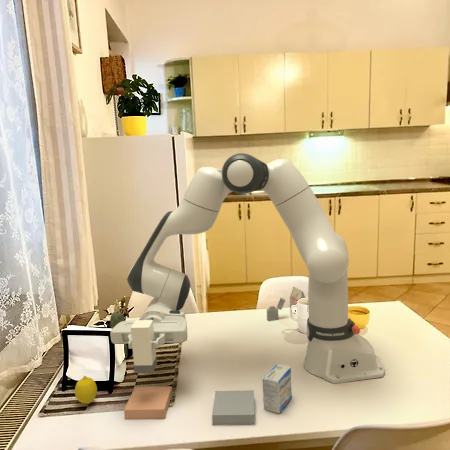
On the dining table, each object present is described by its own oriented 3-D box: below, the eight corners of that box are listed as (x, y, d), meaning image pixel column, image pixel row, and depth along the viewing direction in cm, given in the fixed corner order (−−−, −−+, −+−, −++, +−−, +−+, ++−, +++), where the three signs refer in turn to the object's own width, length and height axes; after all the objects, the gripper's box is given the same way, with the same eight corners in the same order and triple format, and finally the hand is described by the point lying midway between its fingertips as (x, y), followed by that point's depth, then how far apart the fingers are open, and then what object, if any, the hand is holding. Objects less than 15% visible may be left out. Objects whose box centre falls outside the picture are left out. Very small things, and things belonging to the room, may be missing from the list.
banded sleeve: (157, 363, 108) (153, 319, 105) (153, 372, 103) (149, 327, 101) (139, 363, 108) (135, 320, 106) (134, 373, 103) (130, 328, 101)
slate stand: (254, 399, 108) (253, 390, 107) (254, 424, 98) (254, 414, 98) (215, 399, 108) (215, 390, 108) (212, 424, 99) (212, 415, 98)
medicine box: (279, 414, 101) (278, 382, 99) (263, 409, 103) (261, 377, 102) (292, 397, 108) (291, 367, 106) (276, 393, 110) (275, 363, 108)
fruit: (74, 402, 111) (71, 374, 109) (96, 395, 113) (92, 368, 112) (78, 412, 106) (75, 384, 105) (100, 405, 109) (97, 377, 107)
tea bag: (298, 309, 165) (297, 285, 164) (307, 315, 159) (307, 290, 157) (290, 311, 164) (289, 287, 162) (299, 317, 158) (298, 292, 156)
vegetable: (124, 363, 130) (118, 303, 126) (111, 363, 130) (105, 302, 127) (130, 357, 134) (124, 298, 130) (118, 356, 135) (112, 297, 131)
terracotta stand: (172, 394, 112) (171, 386, 111) (164, 418, 102) (164, 409, 101) (135, 395, 112) (135, 386, 112) (124, 418, 103) (124, 409, 102)
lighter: (268, 321, 156) (267, 301, 154) (266, 319, 157) (266, 299, 156) (286, 318, 157) (285, 298, 156) (284, 316, 159) (283, 297, 158)
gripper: (118, 313, 117) (100, 334, 103) (190, 311, 116) (182, 333, 102) (120, 334, 118) (103, 358, 105) (191, 332, 117) (183, 356, 103)
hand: (142, 345), depth 103 cm, fingers closed on banded sleeve, 4 cm apart
